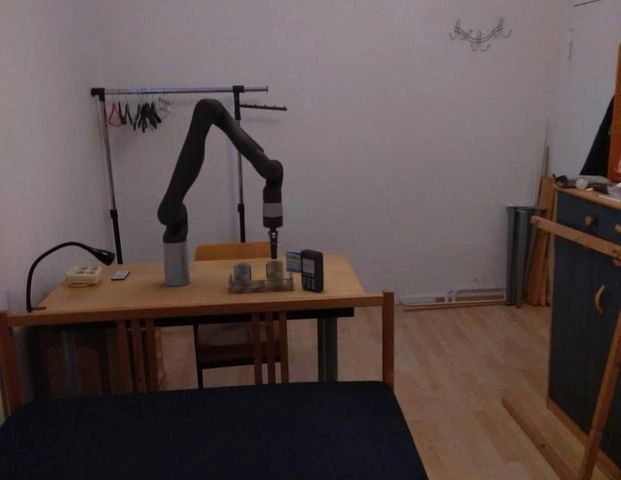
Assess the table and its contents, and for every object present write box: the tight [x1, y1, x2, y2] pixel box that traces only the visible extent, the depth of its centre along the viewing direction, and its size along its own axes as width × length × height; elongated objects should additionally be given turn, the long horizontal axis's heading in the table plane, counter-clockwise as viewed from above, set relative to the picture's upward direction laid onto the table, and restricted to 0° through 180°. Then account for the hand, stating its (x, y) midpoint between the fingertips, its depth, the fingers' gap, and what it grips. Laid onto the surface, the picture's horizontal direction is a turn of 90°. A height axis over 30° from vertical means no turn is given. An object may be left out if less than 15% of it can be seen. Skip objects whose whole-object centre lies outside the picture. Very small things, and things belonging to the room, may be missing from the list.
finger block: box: [265, 259, 285, 284], centre depth 224 cm, size 6×4×8 cm, turn 95°
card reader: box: [300, 248, 325, 293], centre depth 219 cm, size 9×4×15 cm, turn 44°
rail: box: [227, 262, 295, 295], centre depth 224 cm, size 24×10×10 cm, turn 95°
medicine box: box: [285, 249, 301, 273], centre depth 248 cm, size 8×4×9 cm, turn 62°
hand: (273, 256), depth 223 cm, fingers open, 8 cm apart
